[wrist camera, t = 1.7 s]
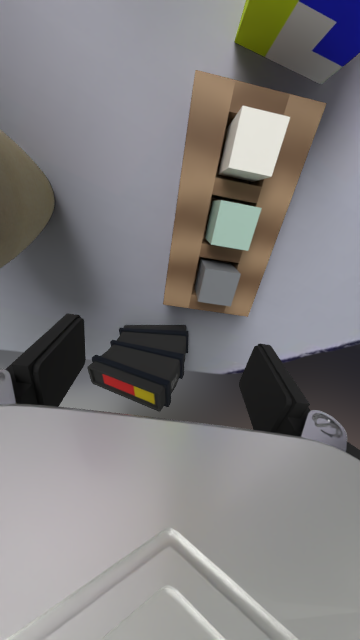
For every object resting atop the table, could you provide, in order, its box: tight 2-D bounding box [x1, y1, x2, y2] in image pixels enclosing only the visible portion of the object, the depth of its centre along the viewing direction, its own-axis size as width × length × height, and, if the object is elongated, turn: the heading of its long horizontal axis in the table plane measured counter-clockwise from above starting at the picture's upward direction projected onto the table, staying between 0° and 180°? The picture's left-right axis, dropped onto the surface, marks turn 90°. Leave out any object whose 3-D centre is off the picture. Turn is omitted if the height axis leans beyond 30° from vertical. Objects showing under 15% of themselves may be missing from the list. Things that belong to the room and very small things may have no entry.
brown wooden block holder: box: [163, 70, 326, 317], centre depth 26 cm, size 22×12×6 cm, turn 171°
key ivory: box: [218, 106, 290, 182], centre depth 20 cm, size 4×4×5 cm
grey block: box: [195, 258, 241, 306], centre depth 26 cm, size 4×4×5 cm
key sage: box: [205, 200, 262, 251], centre depth 23 cm, size 4×4×5 cm
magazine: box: [88, 325, 188, 411], centre depth 32 cm, size 4×13×15 cm, turn 90°
